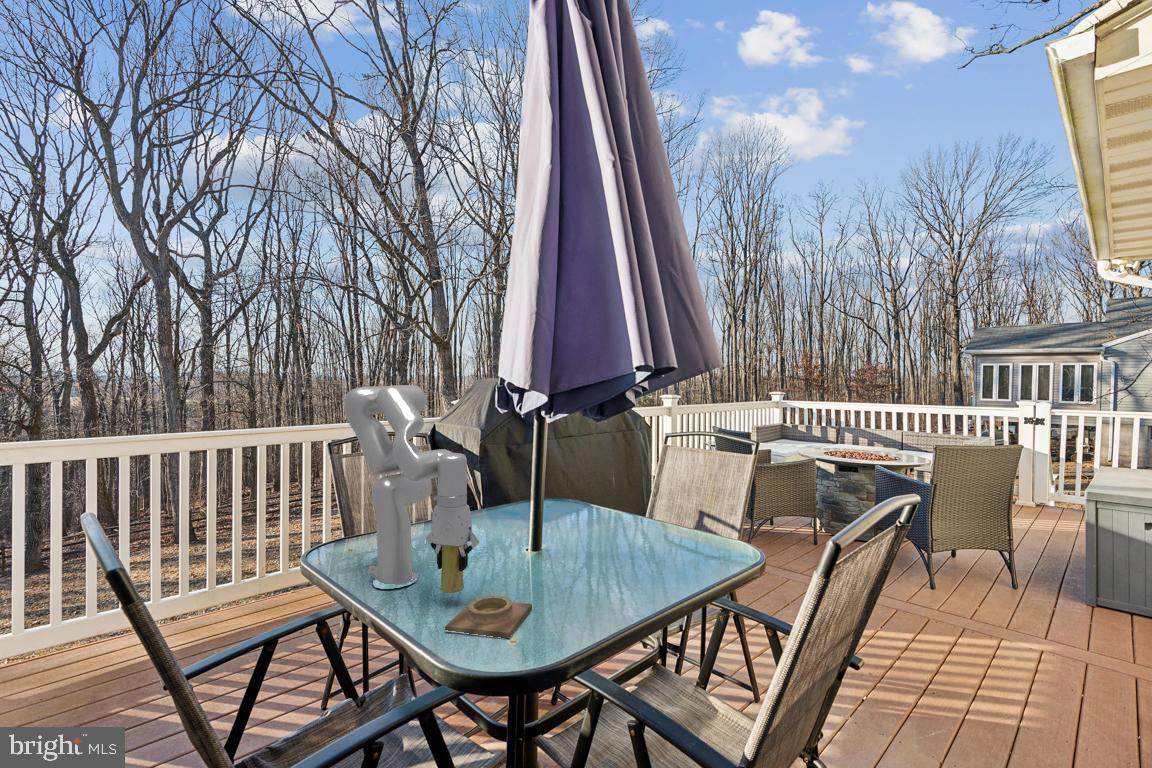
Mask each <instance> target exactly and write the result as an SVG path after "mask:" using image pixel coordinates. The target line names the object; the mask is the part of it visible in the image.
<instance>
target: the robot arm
mask: <svg viewBox="0 0 1152 768" xmlns="http://www.w3.org/2000/svg"><path fill="white" fill-rule="evenodd" d="M343 402H344V403H343V408H344V414H345V415H344V416H345V417H346V420H347V422H348V424H349V426H350V428H351V429H352V431H353V432H354V434H355V436H356V438H357V440H358V442H359V446H360V448H361V449H360V450H361V451H362V454H363V457H364V459H365V463H366V465H367V468H368V470H369V471H370V473H372V474H373V475H379V476H380V475H386V476H382V477H381V478H379V479H377V480H376V481H375V482H374V484H373V485H372V489H371V495H372V501H373V504H374V509H375V510H374V511H375V520H376V521H375V522H376V544H377V545H376V547H377V548H376V549H377V553H376V554H377V566H376V565H370V566H369V567H368V570H367V572H366V574H367V575H369V576H374V579H375V580H378V581H379V582H381V583H384V584H395V585H403V584H407V583H409V582H412V581H414V580H415V579H416V578H417V579H418V574H417V573H416V572H414V571H412V570H413V565H412V564H413V562H412V558H413V557H412V527H411V526H412V525H411V524H412V523H411V519H410V516H409V515H408V513H407V512H406V511H405V509H404V507H405V506H408V505H412V504H417V503H420V502H424V501H427V500H428V499H429V498H430V496H431V494H432V490H433V488H432V487H433V486H432V485H433V484H432V480H433V479H437V493H436V494H434V495H433V497H432V498H433V501H436V505H434V507H433V512H432V516H431V525H430V526H431V527H430V529H431V530H430V532H429V534H428V535H427V536H425V541H426V542H427V543H428V544H429V545H430V547H431V548H432V549H433V551H434V553H435V555H436V564H437V570H442V545H448V546H457V547H459V550H460V553H461V556H460V557H459V571H460V572H462V571H463V572H464V571H465V570H466V569H467V567H468V566H469V565H468V564H469V555H468V554H469V553H470V552H472V550H473V549H474V548H476V547H477V546H478V545H479V544H480V541H479V539H478V537H476V535H475V534H474V532H473V523H472V521H473V520H472V515H471V514H472V513H471V510H470V506H469V504H468V502H467V501H468V497H467V496H468V491H467V490H468V486H467V484H468V483H467V481H468V475H467V474H468V464H467V463H468V461H467V457H466V454H464V453H460V452H453V451H450V450H448V449H445V448H443V449H442V448H441V449H433V450H426V451H420V450H419V447H418V446H417V445H416V444H415V443H413V442H412V441H410V440H411V439H413V438H414V437H416V436H417V435H418V434H419V433H420V432H421V431H422V430H423V428H424V425H425V421H424V420H425V419H424V418H423V416H422V415H421V413H420V412H422V411H423V410H424V409H425V407H426V406H427V405H426V404H427V396H426V393H425V392H424V390H423V389H422V388H421V386H419V385H416V384H404V385H403V384H402V385H401V384H397V385H395V384H394V385H392V384H391V385H381V386H377V385H375V386H374V385H373V386H371V385H370V386H361V387H355V388H353V389H351V390H349V391H348V392H347V394H346V395H345V398H344V401H343ZM375 414H376V415H377V414H379V415H380V414H382V415H383V416H384V418H385V419H386V421H387V422H388V424H389V426H390V427H391V428H392V430H393V432H394V433H395V434H394V438H393V440H391V439H390V437H389V433H388V431H387V429H386V427H385V426H384V424H383V423H382V422H381V421H380V420H378V419H377V418H376V417H374V416H373V415H375ZM388 474H390V475H388ZM470 542H471V544H468V543H470ZM412 572H413V574H412ZM411 579H413V580H411Z"/></svg>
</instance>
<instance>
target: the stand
mask: <svg viewBox="0 0 1152 768" xmlns="http://www.w3.org/2000/svg"><path fill="white" fill-rule="evenodd" d="M531 610H533V603H525V602H514V601H513V602H512V600H511V599H510V598H508V597H505V596H501V595H488V596H481V597H479V598H473V600H471V601H470V602H469V603H468V604H467V605H466V606H465V607H464V608H463V609H462V610H461V611H460V612H458V614H456V615H455V616H454V617H453V618H452V619H451V620H450V621H449V622H448V623H447V624H446V625H445V626H444V631H445V630H448V631H456V632H464V633H469V634H478V635H486V636H493V637H501V638H508V639H507V640H510V639H511V638H512V636H513V635H514V634H515V633H516V631H517V630H518V629H519V627H520V626H521V625H522V624H521V623H523V622H524V621H525V620H526V619H527V617H528V616H529V615H530V613H531V612H532V611H531ZM530 611H531V612H530ZM529 612H530V613H529ZM527 615H528V616H527ZM526 616H527V617H526ZM524 619H525V620H524ZM523 620H524V621H523ZM520 624H521V625H520ZM517 628H518V629H517ZM514 632H515V633H514ZM513 633H514V634H513ZM512 634H513V635H512ZM511 635H512V636H511ZM510 637H511V638H510ZM509 638H510V639H509Z"/></svg>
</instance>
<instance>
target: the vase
mask: <svg viewBox="0 0 1152 768" xmlns="http://www.w3.org/2000/svg"><path fill="white" fill-rule="evenodd" d="M460 556H461V553H460V550H459V547H457V546H448V545H442V568H441V572H440V573H441V575H440V589H439V590H440V591H441V592H443V593H445V594H455V593H458V592H459V593H460V592H461V591H462V590H464V589H465V585H464V570H463V571H462V572H460V571H459V557H460Z"/></svg>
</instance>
